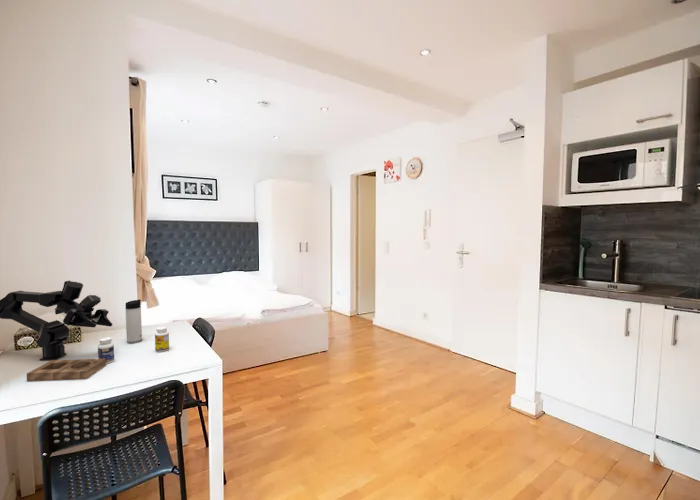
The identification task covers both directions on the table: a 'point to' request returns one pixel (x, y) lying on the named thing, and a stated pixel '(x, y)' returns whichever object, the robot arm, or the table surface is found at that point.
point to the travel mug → (133, 321)
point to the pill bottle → (106, 350)
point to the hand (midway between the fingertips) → (103, 325)
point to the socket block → (66, 369)
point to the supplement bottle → (161, 339)
